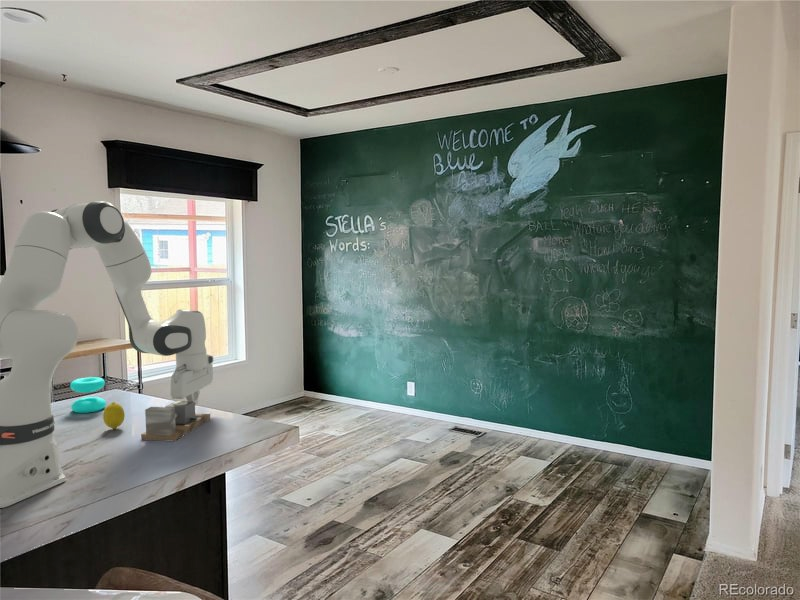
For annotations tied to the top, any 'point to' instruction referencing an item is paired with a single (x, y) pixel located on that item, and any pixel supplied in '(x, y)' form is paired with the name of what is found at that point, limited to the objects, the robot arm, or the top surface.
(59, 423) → the top surface
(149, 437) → the bench
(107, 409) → the lemon
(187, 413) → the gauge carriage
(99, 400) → the donuts
